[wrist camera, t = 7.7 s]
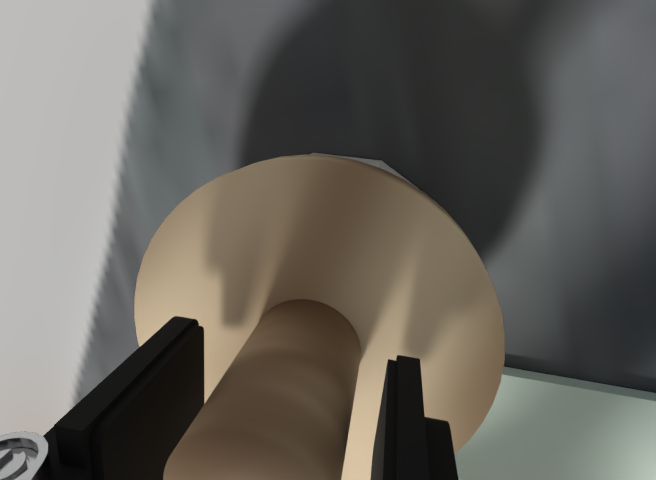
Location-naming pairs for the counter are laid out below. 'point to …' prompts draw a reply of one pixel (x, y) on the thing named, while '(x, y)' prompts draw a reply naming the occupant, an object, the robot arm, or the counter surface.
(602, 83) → the counter surface
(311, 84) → the counter surface
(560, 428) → the mat
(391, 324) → the lid
